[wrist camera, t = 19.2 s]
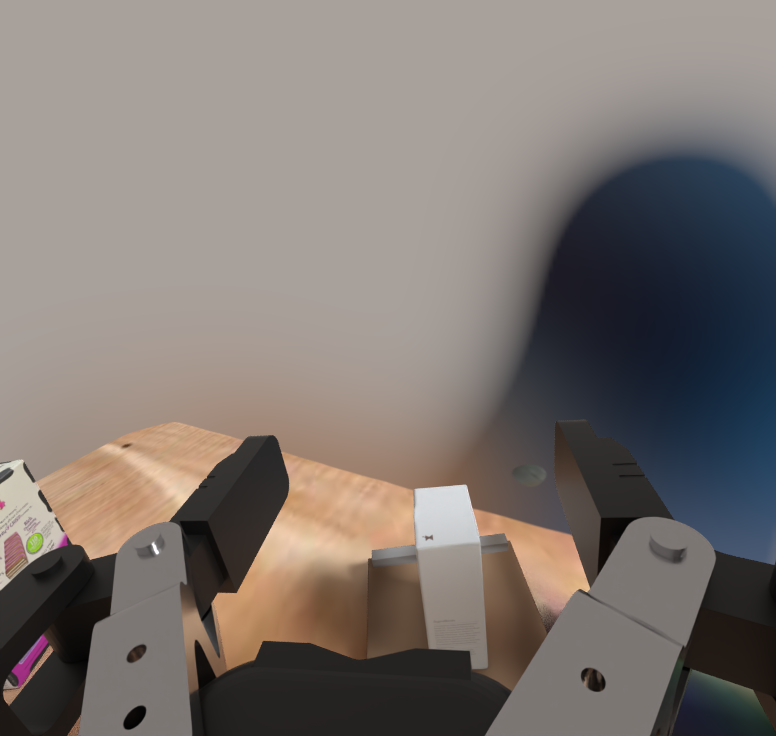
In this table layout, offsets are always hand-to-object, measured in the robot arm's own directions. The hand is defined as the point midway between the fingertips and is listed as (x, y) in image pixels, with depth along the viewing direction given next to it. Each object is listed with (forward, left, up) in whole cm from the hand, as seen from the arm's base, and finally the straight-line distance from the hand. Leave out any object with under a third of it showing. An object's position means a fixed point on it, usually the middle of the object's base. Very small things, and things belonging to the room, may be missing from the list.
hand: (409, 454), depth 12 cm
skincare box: (-2, -13, -26) cm, 29 cm away
